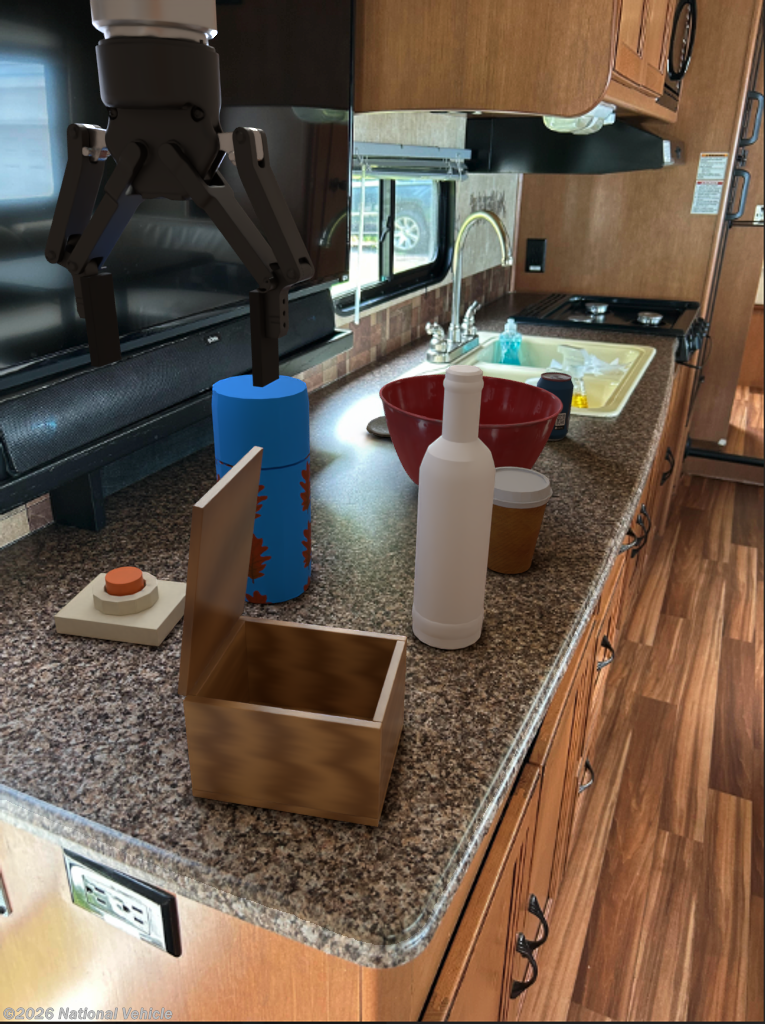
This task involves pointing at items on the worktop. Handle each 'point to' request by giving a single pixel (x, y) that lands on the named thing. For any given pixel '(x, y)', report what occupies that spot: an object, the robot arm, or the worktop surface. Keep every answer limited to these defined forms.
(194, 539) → the wooden box lid
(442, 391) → the mixing bowl
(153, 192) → the robot arm
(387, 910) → the worktop surface
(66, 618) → the control block
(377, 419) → the lid
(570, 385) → the soda can
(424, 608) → the bottle
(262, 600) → the thermos
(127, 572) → the button
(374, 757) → the wooden box
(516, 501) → the disposable coffee cup
